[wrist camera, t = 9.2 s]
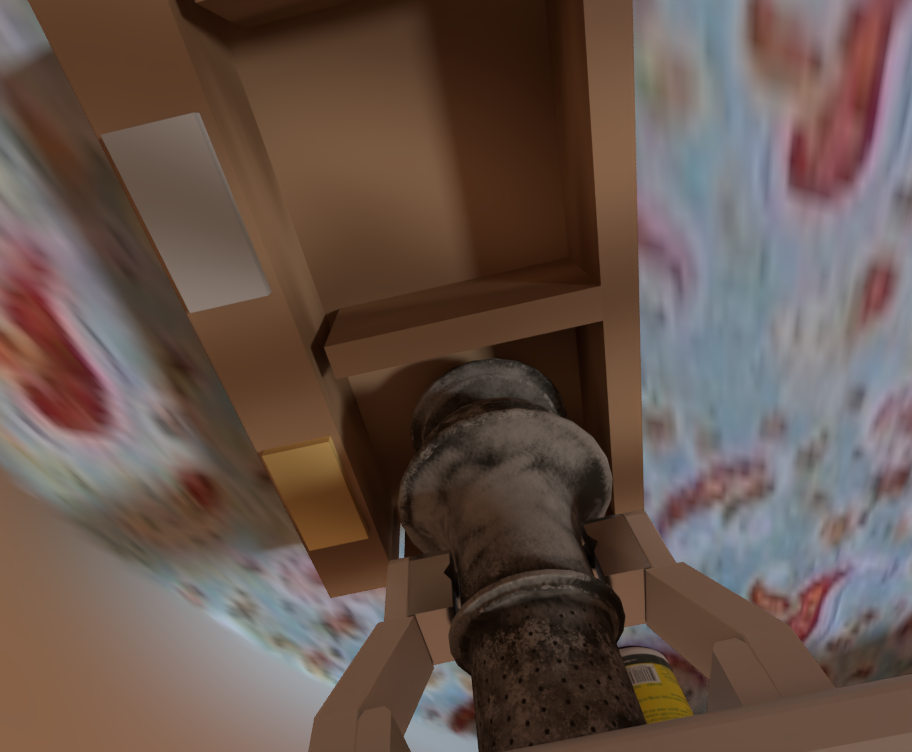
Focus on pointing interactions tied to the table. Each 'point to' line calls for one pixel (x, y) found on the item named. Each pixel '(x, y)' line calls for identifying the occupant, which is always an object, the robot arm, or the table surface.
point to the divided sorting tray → (378, 220)
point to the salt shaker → (519, 553)
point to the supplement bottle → (655, 685)
